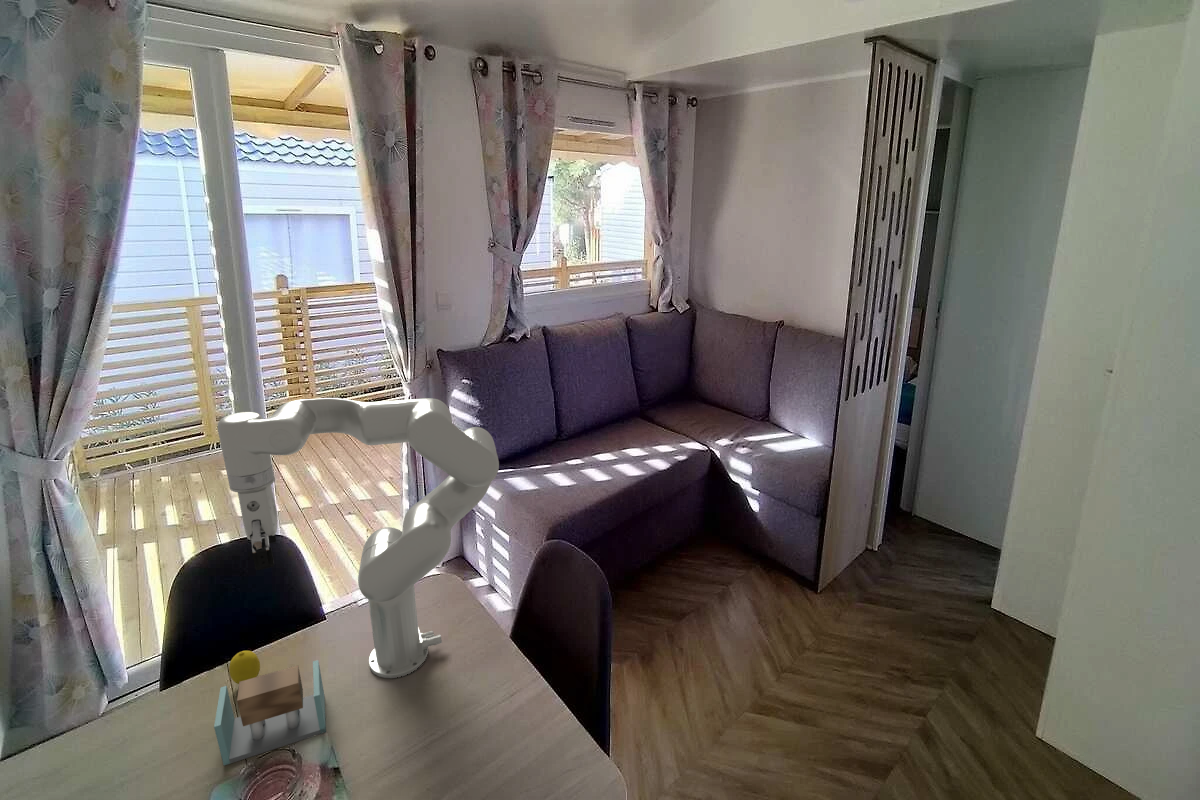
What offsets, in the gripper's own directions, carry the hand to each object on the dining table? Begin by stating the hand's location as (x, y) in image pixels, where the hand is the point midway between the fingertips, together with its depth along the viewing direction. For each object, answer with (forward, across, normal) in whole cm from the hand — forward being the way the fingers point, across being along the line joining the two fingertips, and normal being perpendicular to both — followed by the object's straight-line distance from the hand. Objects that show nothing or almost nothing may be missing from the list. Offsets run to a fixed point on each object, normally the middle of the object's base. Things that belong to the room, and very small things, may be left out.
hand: (266, 554), depth 118 cm
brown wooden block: (+25, -14, +2) cm, 29 cm away
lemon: (+31, +2, +8) cm, 32 cm away
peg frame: (+30, -14, +2) cm, 33 cm away
